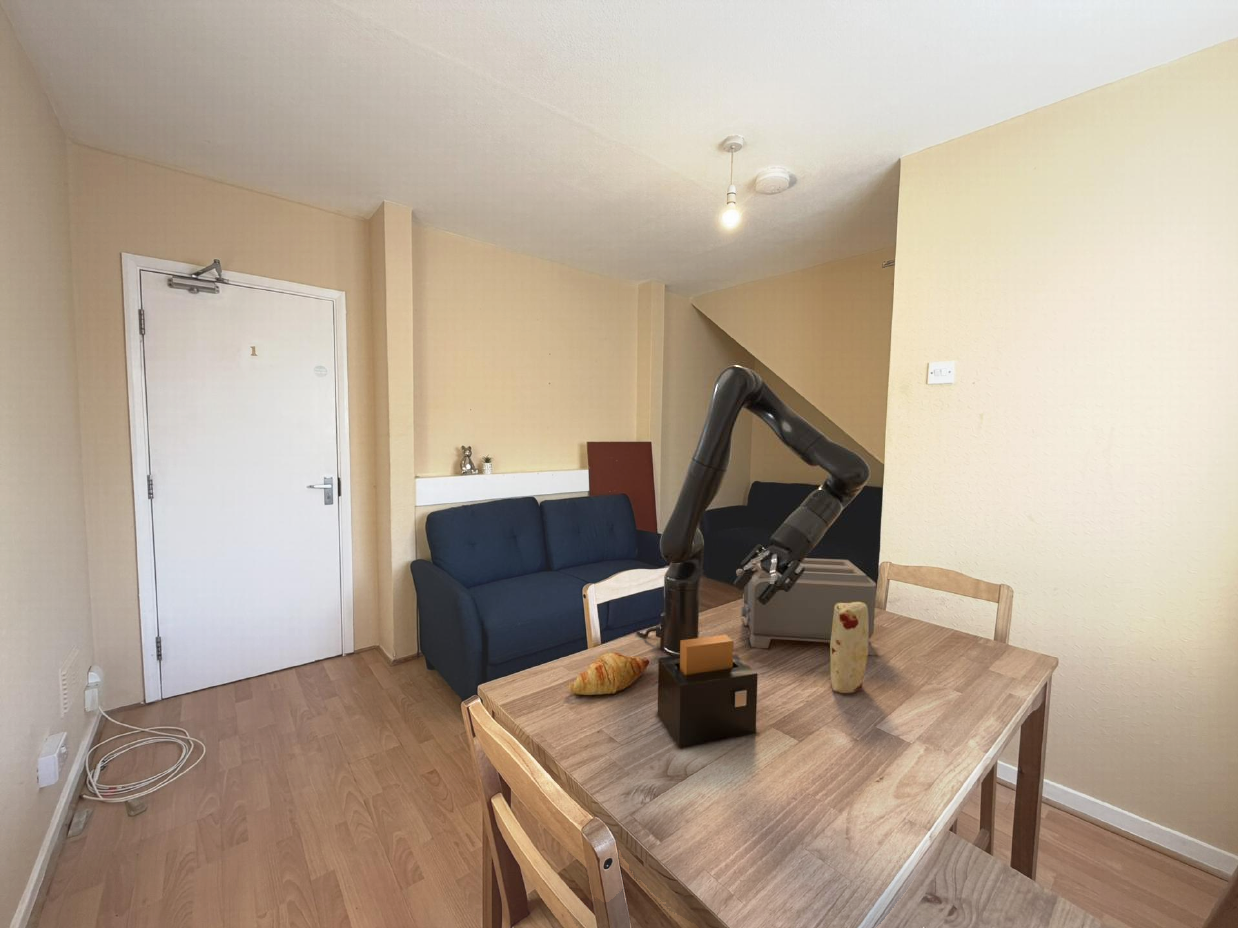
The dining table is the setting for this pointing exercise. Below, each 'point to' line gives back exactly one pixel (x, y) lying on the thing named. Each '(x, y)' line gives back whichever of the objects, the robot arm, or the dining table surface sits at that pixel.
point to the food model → (849, 646)
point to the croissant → (609, 674)
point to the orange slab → (706, 654)
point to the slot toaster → (706, 702)
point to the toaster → (806, 603)
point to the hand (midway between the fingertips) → (747, 594)
